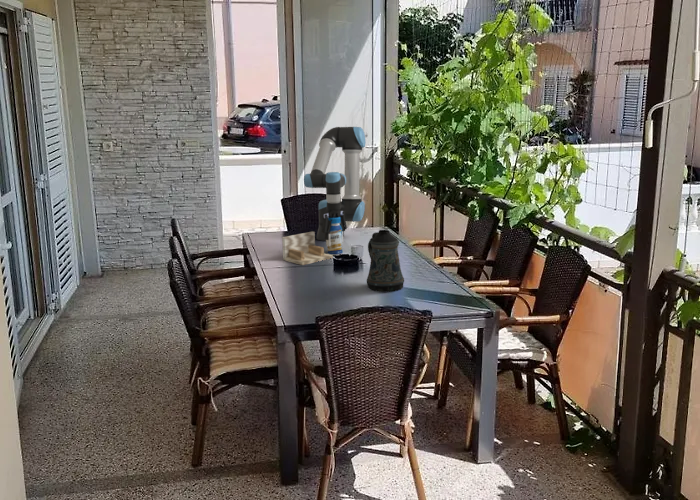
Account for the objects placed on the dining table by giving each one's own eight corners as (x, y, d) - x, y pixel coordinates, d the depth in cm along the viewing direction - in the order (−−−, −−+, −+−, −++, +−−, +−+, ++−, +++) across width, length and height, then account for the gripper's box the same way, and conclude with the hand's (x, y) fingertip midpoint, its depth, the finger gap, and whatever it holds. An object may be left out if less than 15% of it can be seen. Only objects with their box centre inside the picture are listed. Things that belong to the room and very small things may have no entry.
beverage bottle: (345, 252, 366) (344, 216, 362) (338, 256, 359) (337, 218, 354) (331, 251, 370) (330, 215, 365) (324, 255, 362) (323, 217, 358)
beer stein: (392, 294, 290) (392, 236, 285) (354, 288, 300) (352, 232, 295) (410, 284, 304) (410, 229, 298) (372, 279, 314) (372, 225, 308)
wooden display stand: (312, 253, 367) (312, 231, 364) (332, 258, 355) (332, 235, 353) (283, 260, 354) (282, 237, 351) (302, 265, 342) (301, 241, 340)
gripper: (343, 198, 368) (344, 240, 373) (313, 203, 354) (315, 246, 359) (353, 200, 362) (354, 242, 367) (323, 205, 348) (324, 248, 354)
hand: (334, 244), depth 363 cm, fingers closed on beverage bottle, 8 cm apart
